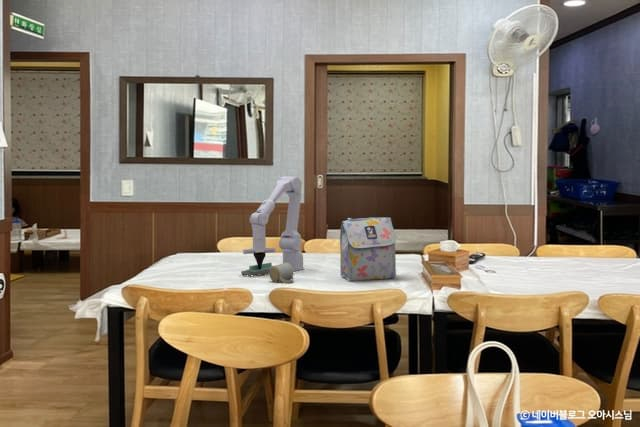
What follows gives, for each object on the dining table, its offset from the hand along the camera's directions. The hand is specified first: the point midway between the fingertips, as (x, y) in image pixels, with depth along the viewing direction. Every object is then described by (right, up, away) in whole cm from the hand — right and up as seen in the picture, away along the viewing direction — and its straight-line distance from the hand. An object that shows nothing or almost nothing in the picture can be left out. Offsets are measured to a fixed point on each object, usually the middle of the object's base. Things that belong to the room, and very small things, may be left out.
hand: (259, 269), depth 318 cm
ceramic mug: (+12, -4, -17) cm, 21 cm away
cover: (+1, 0, +5) cm, 5 cm away
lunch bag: (+48, -3, -10) cm, 49 cm away
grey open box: (0, -2, +5) cm, 6 cm away
